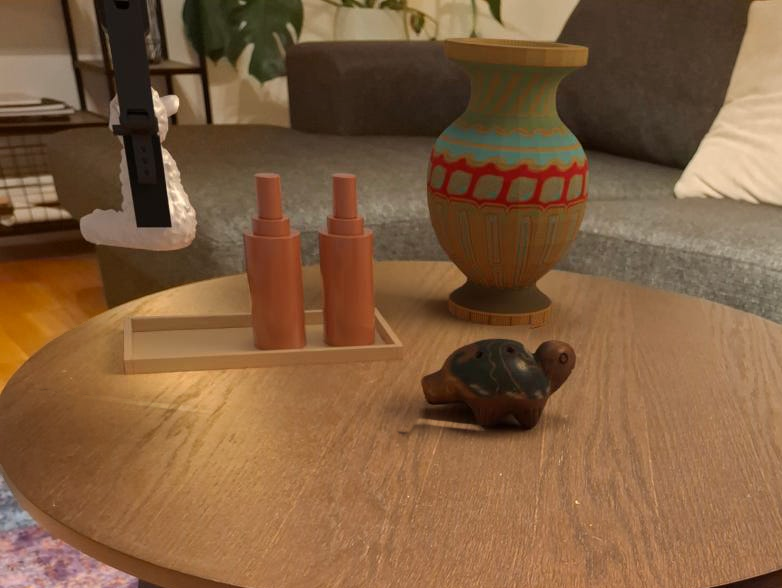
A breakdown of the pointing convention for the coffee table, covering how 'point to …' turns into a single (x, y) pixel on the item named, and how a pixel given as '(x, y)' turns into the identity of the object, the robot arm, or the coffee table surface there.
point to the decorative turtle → (501, 379)
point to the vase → (508, 179)
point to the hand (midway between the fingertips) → (153, 215)
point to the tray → (236, 344)
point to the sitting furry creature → (123, 224)
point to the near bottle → (274, 271)
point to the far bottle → (346, 270)
